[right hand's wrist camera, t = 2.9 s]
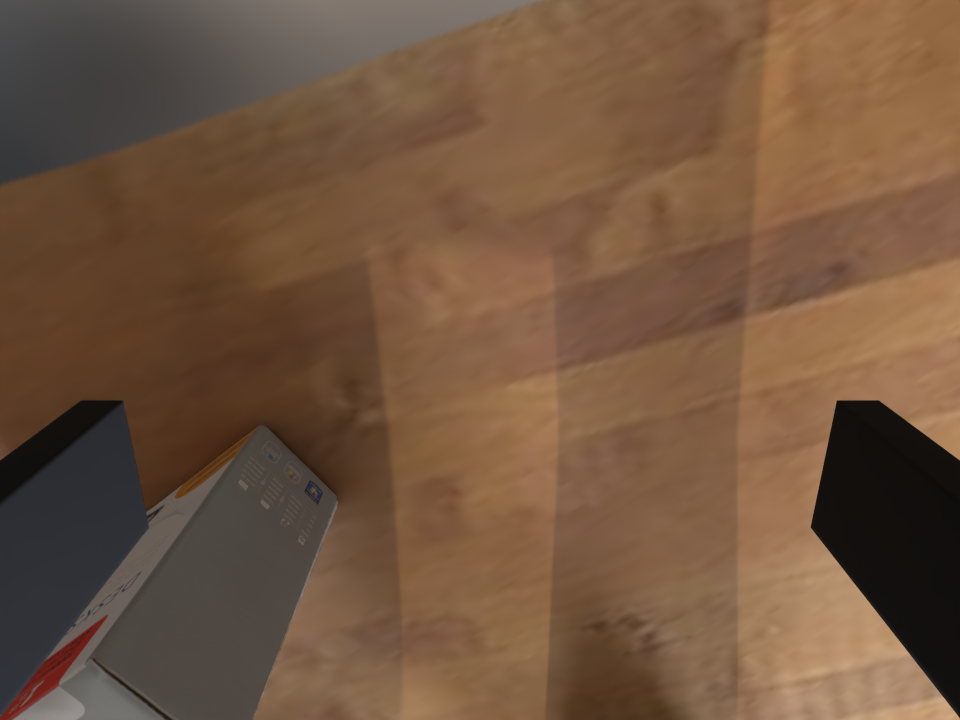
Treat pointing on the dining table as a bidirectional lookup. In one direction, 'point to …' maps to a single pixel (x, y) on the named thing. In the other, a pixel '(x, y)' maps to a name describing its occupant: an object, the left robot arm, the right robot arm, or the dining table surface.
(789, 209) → the dining table surface
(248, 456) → the hard drive box
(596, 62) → the dining table surface
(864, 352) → the dining table surface
